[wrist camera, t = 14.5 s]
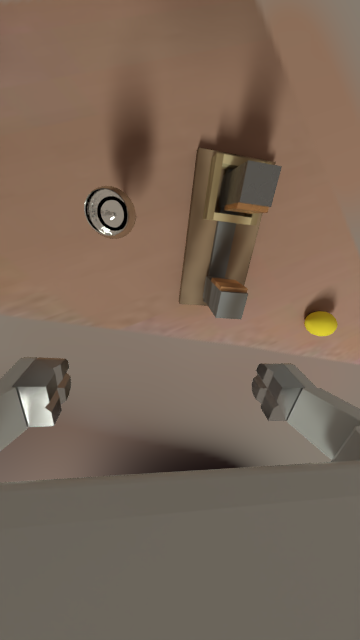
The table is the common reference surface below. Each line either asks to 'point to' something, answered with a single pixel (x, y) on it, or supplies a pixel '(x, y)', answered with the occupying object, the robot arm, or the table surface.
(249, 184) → the grey metal slab
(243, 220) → the rail
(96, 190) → the wineglass
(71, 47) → the table surface
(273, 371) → the robot arm
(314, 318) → the lemon
